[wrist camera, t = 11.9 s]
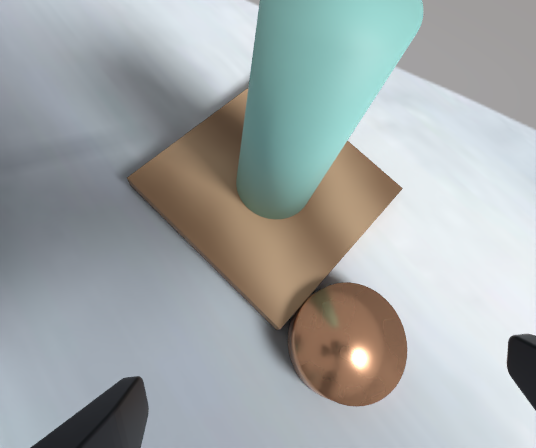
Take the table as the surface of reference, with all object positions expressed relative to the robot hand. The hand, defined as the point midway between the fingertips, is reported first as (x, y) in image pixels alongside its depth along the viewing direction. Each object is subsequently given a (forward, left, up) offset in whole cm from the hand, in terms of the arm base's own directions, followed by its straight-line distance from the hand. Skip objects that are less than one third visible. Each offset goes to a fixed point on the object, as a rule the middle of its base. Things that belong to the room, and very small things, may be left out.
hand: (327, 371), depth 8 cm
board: (+7, +6, -11) cm, 14 cm away
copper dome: (+3, -3, -11) cm, 12 cm away
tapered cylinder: (+7, +6, -10) cm, 14 cm away
